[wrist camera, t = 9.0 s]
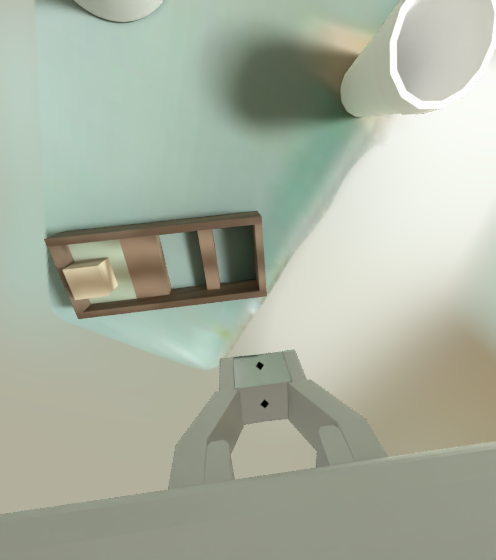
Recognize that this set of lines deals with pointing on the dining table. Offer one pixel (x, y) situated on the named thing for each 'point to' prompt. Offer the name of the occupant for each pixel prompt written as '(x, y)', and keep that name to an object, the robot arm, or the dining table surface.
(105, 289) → the block
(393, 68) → the foam cup
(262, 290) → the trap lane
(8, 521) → the robot arm
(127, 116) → the dining table surface
